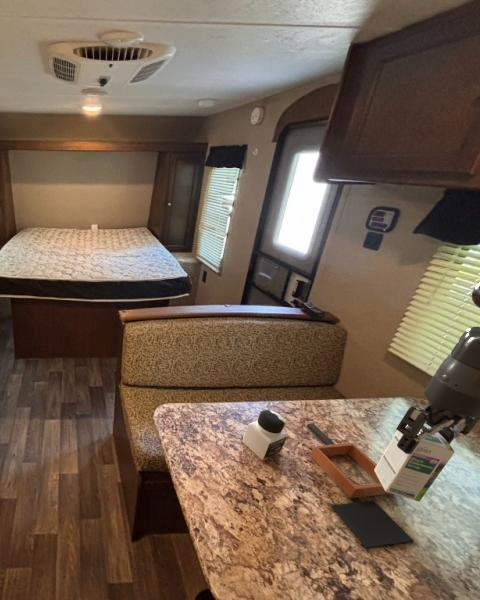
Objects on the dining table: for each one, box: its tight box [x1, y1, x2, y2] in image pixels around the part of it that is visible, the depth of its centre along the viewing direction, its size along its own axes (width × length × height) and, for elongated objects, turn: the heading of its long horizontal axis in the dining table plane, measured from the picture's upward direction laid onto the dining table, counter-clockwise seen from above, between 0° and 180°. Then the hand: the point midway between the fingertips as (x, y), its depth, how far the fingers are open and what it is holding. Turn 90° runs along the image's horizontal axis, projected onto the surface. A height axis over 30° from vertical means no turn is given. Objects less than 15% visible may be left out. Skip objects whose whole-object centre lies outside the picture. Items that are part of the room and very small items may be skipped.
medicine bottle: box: [242, 409, 288, 462], centre depth 88 cm, size 7×7×12 cm
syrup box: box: [374, 425, 455, 502], centre depth 65 cm, size 6×6×14 cm
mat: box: [330, 499, 414, 549], centre depth 72 cm, size 12×9×1 cm
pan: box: [306, 422, 392, 499], centre depth 87 cm, size 13×21×4 cm, turn 8°
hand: (420, 448), depth 63 cm, fingers closed on syrup box, 7 cm apart
